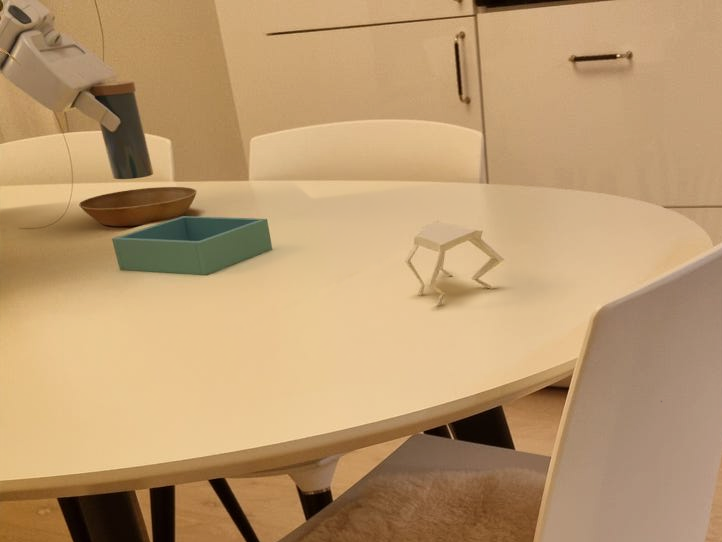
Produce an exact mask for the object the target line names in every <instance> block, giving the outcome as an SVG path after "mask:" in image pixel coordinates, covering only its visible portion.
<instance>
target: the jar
mask: <svg viewBox="0 0 722 542" xmlns="http://www.w3.org/2000/svg"><path fill="white" fill-rule="evenodd" d="M89 90H90V93H91V94H92V95H93V96H94V97H95V99H96V100H97V101H99V102H100V103H101V104H103V105H104V106H105V107H107V108H108V109H112V110H113V111H114V112H115V113H116V114H117V115H119V116H120V117H121V118H122V123H121V125H120V126H119V128H118V130H116V131H113V132H112V131H110V130H108V129H107V128H106V127H105V126H103V125H102V124H101V123H100V122H98V123H99V126H100V131H101V135H102V139H103V143H104V147H105V150H106V154H107V159H108V163H109V167H110V170H111V171H110V172H111V175H112V178H113V179H115V180H133V179H134V180H135V179H141V178H148V177H150V176H153V175H154V169H153V165H152V161H151V157H150V152H149V147H148V144H147V138H146V134H145V130H144V126H143V122H142V121H143V120H142V117H141V112H140V108H139V104H138V100H137V95H136V92H137V87H136V84H135V81H129V80H128V81H127V80H126V81H117V82H110V83H101V84H98V85H94V86H92V88H90V89H89Z"/></svg>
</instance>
